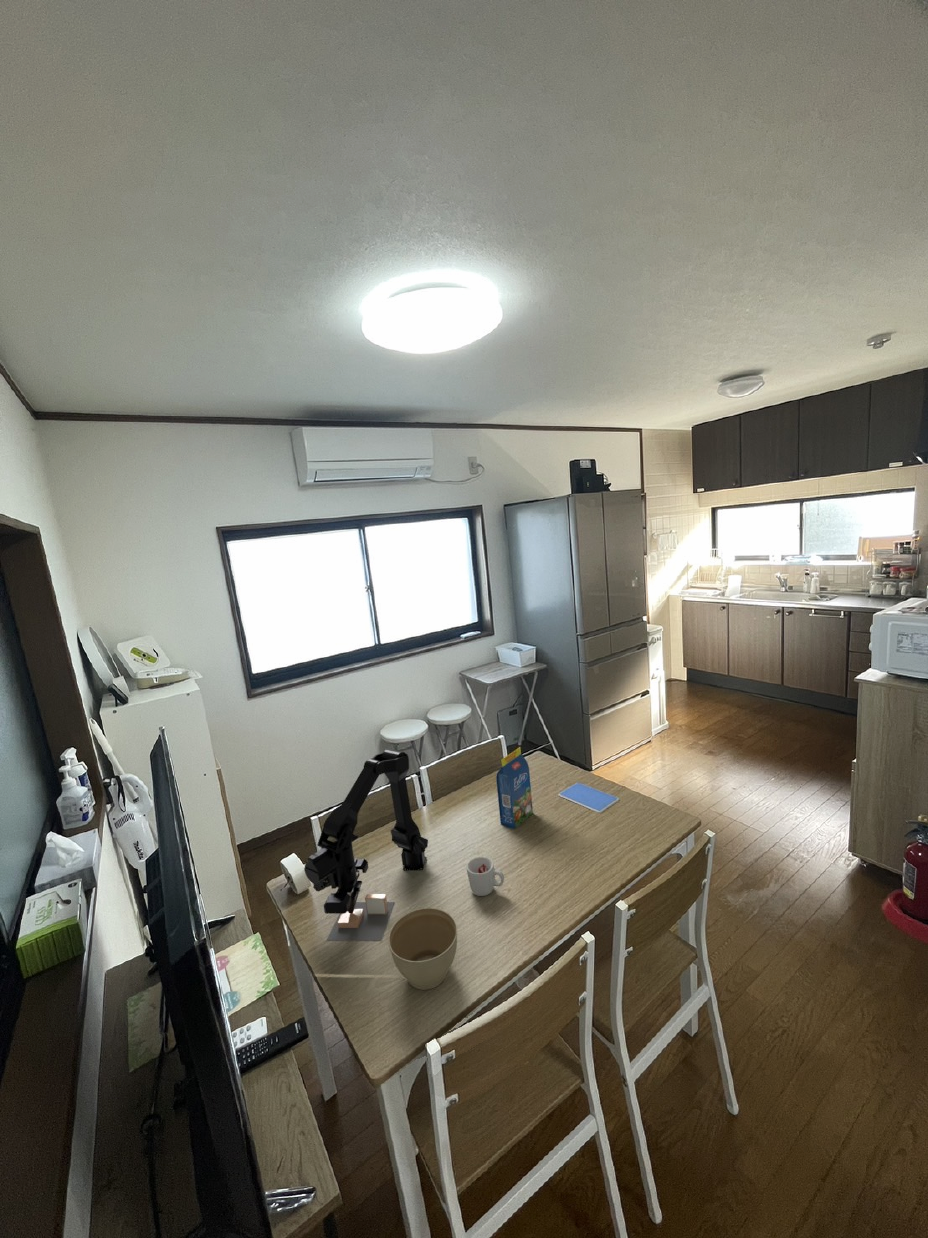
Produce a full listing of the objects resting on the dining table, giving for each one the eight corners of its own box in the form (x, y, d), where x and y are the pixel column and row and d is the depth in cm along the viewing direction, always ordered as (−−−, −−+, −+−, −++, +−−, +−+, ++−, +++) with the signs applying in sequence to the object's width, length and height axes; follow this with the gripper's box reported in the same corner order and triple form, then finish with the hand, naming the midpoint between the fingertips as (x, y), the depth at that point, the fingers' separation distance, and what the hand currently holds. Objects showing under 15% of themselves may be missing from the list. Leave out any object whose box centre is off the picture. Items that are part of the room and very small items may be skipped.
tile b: (363, 909, 140) (357, 922, 135) (363, 914, 140) (358, 928, 135) (344, 909, 140) (337, 922, 135) (345, 914, 141) (338, 928, 136)
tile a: (388, 910, 141) (385, 894, 140) (386, 914, 139) (384, 898, 138) (369, 910, 141) (366, 894, 141) (367, 914, 140) (364, 898, 139)
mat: (395, 903, 144) (395, 902, 144) (381, 942, 130) (381, 940, 130) (345, 903, 146) (345, 902, 146) (326, 942, 132) (326, 940, 132)
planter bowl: (405, 1016, 109) (399, 973, 107) (386, 962, 124) (380, 923, 122) (472, 984, 115) (468, 942, 113) (446, 936, 130) (442, 899, 128)
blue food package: (533, 813, 183) (527, 748, 179) (515, 829, 174) (508, 761, 170) (518, 808, 187) (513, 745, 183) (500, 824, 178) (493, 758, 174)
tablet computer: (620, 801, 186) (620, 797, 186) (599, 815, 178) (599, 811, 178) (577, 784, 201) (577, 781, 200) (557, 797, 193) (557, 794, 193)
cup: (508, 884, 147) (506, 859, 146) (501, 903, 139) (499, 877, 138) (473, 879, 150) (471, 855, 149) (465, 897, 143) (462, 872, 142)
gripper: (328, 840, 146) (336, 889, 149) (300, 884, 128) (309, 939, 130) (365, 840, 145) (372, 889, 147) (342, 884, 126) (350, 939, 129)
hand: (351, 912), depth 138 cm, fingers closed
